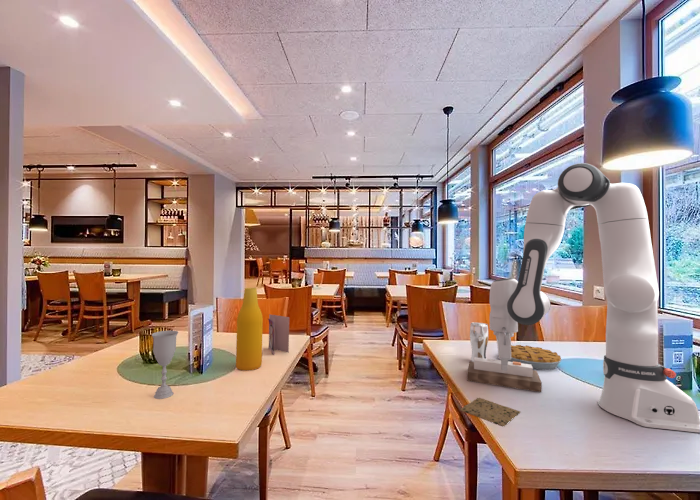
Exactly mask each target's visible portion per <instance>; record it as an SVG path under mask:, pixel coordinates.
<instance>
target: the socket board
mask: <svg viewBox="0 0 700 500" xmlns="http://www.w3.org/2000/svg"><path fill="white" fill-rule="evenodd" d="M466 375H467V377H466V378H467V379H466V381H468V382H474V383H480V384H487V385H492V386H499V387H504V388H505V387H506V388H512V389H519V390H525V391H531V392H538V393H542V391H543V390H542V386H543V385H542V383H543V382H542V381H541V378H540V376H539V373H538V370H537V369H533V377H527V376H520V375H513V374H506V373H498V372H491V371H484V370H477V369H474V362H472V361H469V362H468V365H467V373H466Z"/></svg>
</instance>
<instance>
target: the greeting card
mask: <svg viewBox="0 0 700 500" xmlns="http://www.w3.org/2000/svg"><path fill="white" fill-rule="evenodd" d="M268 315H269V318H267V320H268V349H269V351H270V352H271V353H272V355H273V356H275V351H279V352H284V353H289V349H290V348H289V347H290V346H289V345H290V344H289V343H290V317H289V316H284V315H283V316H282V315H276V314H268Z"/></svg>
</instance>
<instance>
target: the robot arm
mask: <svg viewBox="0 0 700 500" xmlns="http://www.w3.org/2000/svg"><path fill="white" fill-rule="evenodd" d="M589 206H592V207H593V208H594V210H595V214H596V219H597V220H596V221H597V227H598V235H599V242H600V243H599V244H600V252H601V253H600V254H601V267H602V270H601V271H602V278H603V279H602V281H603V289H604V290H603V291H604V296H605V299H606V301H607V302H606V303H607V304H606V305H607V308H606V320H605V321H606V322H605V323H606V325H605V355H604V356H603V361H602V372H603V376H604V378H603V379H604V381H603V385H602V390H601V393H600V394H601V395H600V397H599V400H598V402H597V404H598V405H599V407H600V408H602V409H603V410H605V411H606V412H608V413H610V414H612V415H615V416H617V417H620V418H623V419H625V420H627V421H628V420H629V421H631V422H633V423H634V424H637V425H638V426H641V427H645V428H651V429H652V428H655V429H664V430H672V431H681V432H689V433H700V414H699V409H698V407H697V404H696V402H695V400H694V399H693V398H692V397H691V396H690V395H688V394H687V393H686V392H684V391H683V390H682V389H680V388H679V387H678V386H677V385H675V384H674V383H673V382H672V381H670V380H669V379H667V378H670V379H675V378H676V377H677V372H676V371H674V370H672V369H671V368H666V366H663V365H661V364H660V363H659V328H658V327H659V322H658V301H659V296H660V291H659V284H658V278H657V277H658V276H657V271H656V264H655V258H654V253H653V252H654V251H653V245H652V238H651V237H652V236H651V230H650V224H649V222H650V221H649V216H648V211H647V207H646V204H645V200H644V197H643V195H642V193H641V190H640V188H639V187H638V186H637V185H635V184H634V183H628V182H617V183H611V180H610V179H609V178H608V177H607V176H606V175H605V174H604V173H603V172H602V171H601V170H600V169H599V168H598V167H596V166H595V165H593V164H590V163H584V162H581V163H580V162H579V163H574V164H572V165H570V166H568V167H566V168H565V169H563V171H562V172H561V173H560V175H559V176H558V179H557V187H556V188H554V189H545V190H540V191H538V192H536V193H535V194H534V195H533V197H532V198H531V201H530V203H529V207H528V210H527V213H526V214H527V215H526V218H525V223H524V231H523V232H524V233H523V249H522V260H521V266H520V270H519V274H518V275H519V276H518V280H517V279H515V278H513V277H507V278H500V279H494V280H493V281H492V282H491V283H490V290H489V307H490V311H489V330H490V331H493V335H494V336H495V338H496V339H495V341H496V344H497V354H498V360H500V361H501V369H502V370H503V371H507V365H508V360H511V345H512V340H511V339H512V338H513V337H515V333H518V332H519V324H520V325H524V326H532V325H535V324H537V323H539V322H540V321H541V319H542V318H543V317H544V316H545V315H546V314H547V313H549V311H550V310H551V300H550V298H549V296H548V295H547V294H546V293H545V291H544V292H543V291H541V290H542V289H541V288H542V284H543V279H544V273H545V268H546V265H547V262H548V261H549V259H550V257H551V256H552V255H553V254H554V253H555V252H556V251H557V250H558V249H559V247H560V244H561V242H562V239H563V237H564V233H565V227H566V220H567V216H568V213H569V211H571V210H574V209H575V210H576V209H581V208H586V207H589Z"/></svg>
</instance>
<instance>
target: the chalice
mask: <svg viewBox="0 0 700 500" xmlns="http://www.w3.org/2000/svg"><path fill="white" fill-rule="evenodd" d="M178 334H179V331H178V330H160V331H156V332H153V333H152V334H151V336H152V338H153V350H152V352H153V354H154V357H155V360H156V361H157V363H158V365H159V366H161V367H162V371H160V373H161V374H162V377H161V378H160V380H161V385H160V386H158V387H157V388H156V391H155V392H154V395H153V398H154V399H157V400H161V399H167V398H169V397H171V396H173V395H174V392H173V389H172V387H171V386H170V385H167V383H166V381H167V379H168V377H167V373H168V370H167V365H170V364H171V362H172V360H173V358H174V355H175V352H176V350H177V336H178Z"/></svg>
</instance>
